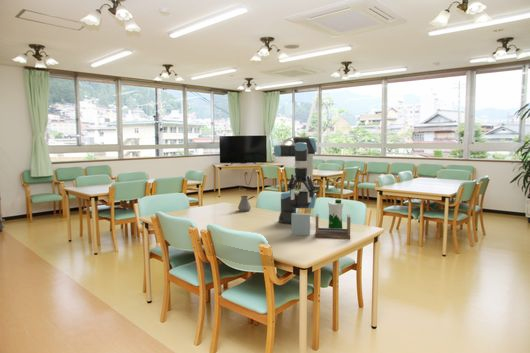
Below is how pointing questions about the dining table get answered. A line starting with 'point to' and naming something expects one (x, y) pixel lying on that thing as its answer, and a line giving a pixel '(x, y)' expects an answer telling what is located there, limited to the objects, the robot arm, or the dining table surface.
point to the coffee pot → (244, 204)
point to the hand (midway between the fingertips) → (300, 200)
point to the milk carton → (335, 214)
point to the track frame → (333, 231)
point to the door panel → (300, 224)
